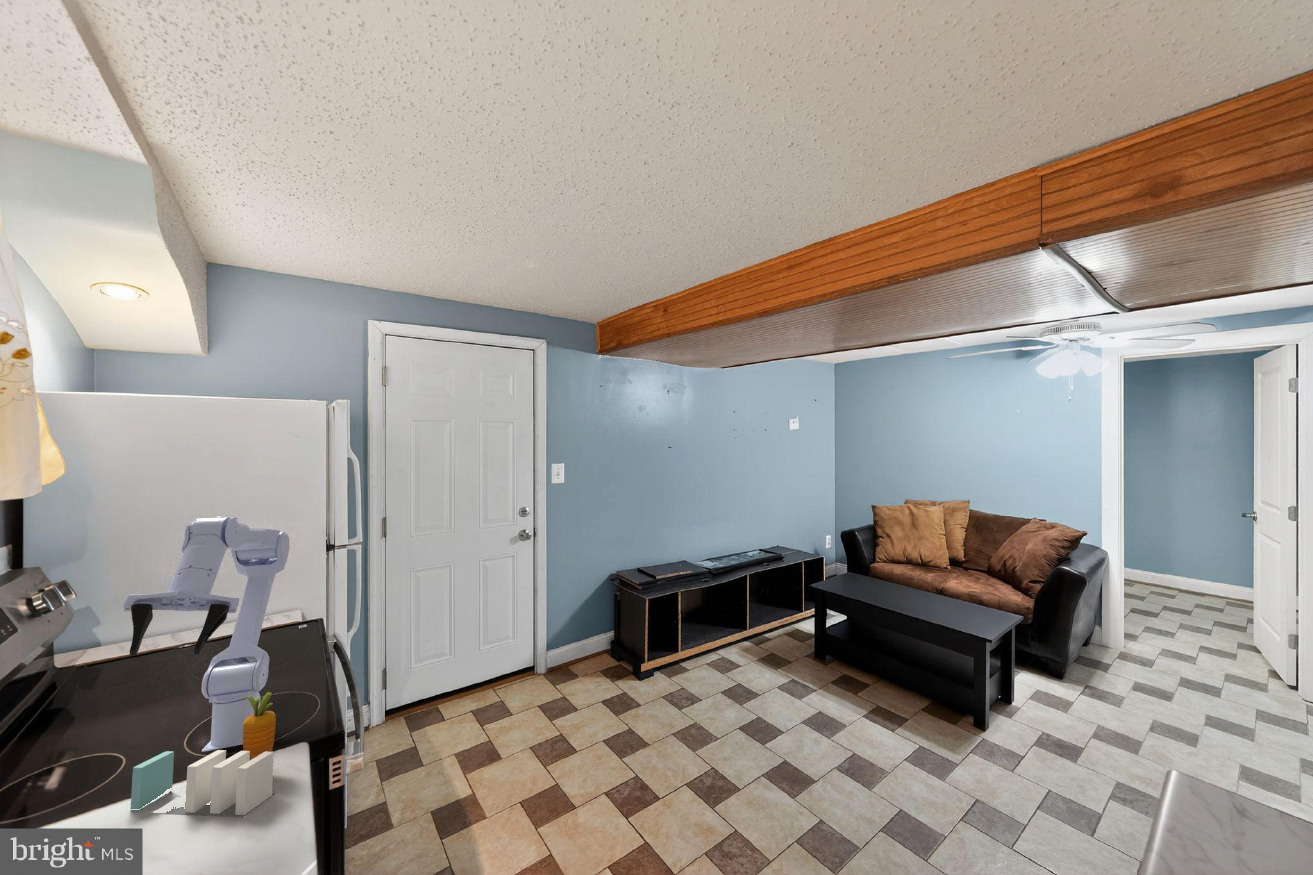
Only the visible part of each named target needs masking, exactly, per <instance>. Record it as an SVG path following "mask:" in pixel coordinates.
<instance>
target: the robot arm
mask: <svg viewBox="0 0 1313 875" xmlns="http://www.w3.org/2000/svg"><path fill="white" fill-rule="evenodd" d="M227 549H228V550H229V549H230V553H231V557H232V560H233V563H234V566H235V568H236V570H237V571H236V572H237V573H238V574H240V575H242V576H244V577H246V578H247V582H246V585H245V590H244V593H243V596H242V600H241V603H240V597H229V596H223V595H217V594H211V593H212V590H213V587H214V584H215V581H216V579H217V576H218V574H219V570H220V567H221V566H222V562H223V560H224V557H225V554H226V552H227ZM181 552H182V555H181V558H180V560H179V562H178V564H177V567H176V570H175V572H174V575H173V577H172V580H171V582H170V584H169V586H168V589H167V590H166V592H158V593H157V592H156V593H145V594H128V596H127V597H126V600H125V601H124V604H123V611H124V612H131V621H132V627H133V629H132V640H131V643H130V645H131V646H130V648H129V655H130V656H137V654H138V653H139V650H140V647H141V646H142V645H141V644H142V642H143V639H144V636H145V634H146V633H147V629H148V627H149V625H150V624H151V622H152V620H153V618H154V615H153V614H154V613H153V610H154V611H159V610H160V611H176V612H195V611H197V612H198V611H199V612H200V611H202V612H203V611H205V612H207V615H206V618H205V621H204V624H203V627H202V630H201V632H200V634H199V636H198V638H197V641H196V643H195V646H194V650H193V655H200V653H201V652H202V649H203V648H204V646H205V644H206V643H207V642H208V640H209V639H210V637H212V635H213V634H214V633H215V631H216V630H218V629H219V627H221V625H223V624H224V623H225V621H226V620H227V619H228V614H236V613H237V610H238V606H239V605H240V607H239V611H238V614H237V617H236V621H235V625H234V628H233V633H232V634H231V636H232V637H231V639H230V644H229V646H228V647H226V648H225V649H224V650H223V651H220V652H219V653H218V654H217V655H214V657H212V659H211V661H210V663H209V666H208V667H207V668H208V669H207V670H206V671H205V673H204V675H203V676H202V681H201V693H202V695H203V696H204V698H205V699H208V703H212V709H211V710H212V711H211V727H210V730H211V731H210V741H209V742H208V743H207V744H206V745H205V746H204V747H203V748H202V749H201V753H202V752H203V753H205V752H210V751H217V750H222V749H225V748H231V747H236V746H241V745H242V746H243V723H244V720H245V719H246V718H247V717H249V716H251V715H253V714H254V710H253V707H252V705H251V703H250V701H249V699H248V698H249V697H250V696H252V697H253V698H254V700H256V699H257V698H259V699H260V700H261V695H260V691H261V690H263V688H264V687H265V686H266V684H267V681H268V677H269V665H270V664H269V663H270V656H269V654H268V652H267V651H266V650H264V649H262V648H261V647H260V646H258V644H259V640H260V637H261V632H262V629H263V624H264V619H265V617H266V616H265V615H266V612H267V608H268V604H269V599H270V595H271V592H272V587H273V584H274V581H275V578H276V575H277V574H278V573H281V572H282V571H284V570H285V567H286V564H287V560H288V556H289V552H290V537H289V534H287V532H286V531H281V530H280V529H272V528H263V527H262V528H261V527H260V528H259V527H249V526H248V525H247V524H246V523H245V522H243V521H241V520H238V517H235V516H233V517H226V516H215V517H209V518H208V517H207V518H196V519H195V520H194V521H191V522H190V523H189V524H187V525H186V528H185V532H184V540H183V544H182V546H181ZM260 704H261V701H260V702H259V705H258V709H259V706H260Z"/></svg>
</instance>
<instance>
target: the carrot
mask: <svg viewBox="0 0 1313 875" xmlns="http://www.w3.org/2000/svg"><path fill="white" fill-rule="evenodd" d="M271 697H272V692H269V691H268V692H266V693H265V695H264V696H263V697H262V699H261V698H260V699H259V698H257V699H256V700H254V698H253V697H252V696H250V697H249V698H248V699H249V701H250V703H251V705H252V707H253V710H254V714H253V715H251V716H249V717H247V718H246V719H245V720H244V723H243V744H242V749H243V750H242V751H250V757H249V761H250V760H252V759H254V758H255V757H257V756H258V755H260V754H262V753H263V752H265V751H266V752H273V747H274V743H275V734H276V722H277V719H276V718H277V717H276V713H275V712H274V711H272V710H268V709H269V708H270V707H271V706H272V705H273V702H269V701H270V699H271ZM259 702H260V706H259V709H258V705H259ZM268 702H269V703H268ZM267 703H268V704H267Z"/></svg>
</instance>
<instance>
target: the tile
mask: <svg viewBox="0 0 1313 875" xmlns="http://www.w3.org/2000/svg"><path fill="white" fill-rule="evenodd" d="M174 758H175V751H172V750H171V751H169V750H166V751H164V752H161V753H160V754H158V755H156V756H153V757H152V758H150V759H147V760H145V761H143V762H142V763H140V764H137V765H135V766H133V767H132V776H131V794H130V795H131V796H130V808H129V810H130V809H140V808H142V807H143V806H145V805H146V804H148V803H150V802H151V801H152V800H154V799H156V798H157V797H158V796H160V795H161V794H163V793H164V792H165V791H166V790H167V789H170V788H172V789H173V781H174V780H173V778H174V762H175V761H174V760H175V759H174Z"/></svg>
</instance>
